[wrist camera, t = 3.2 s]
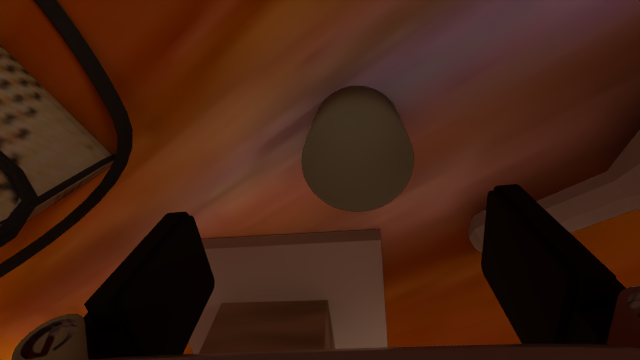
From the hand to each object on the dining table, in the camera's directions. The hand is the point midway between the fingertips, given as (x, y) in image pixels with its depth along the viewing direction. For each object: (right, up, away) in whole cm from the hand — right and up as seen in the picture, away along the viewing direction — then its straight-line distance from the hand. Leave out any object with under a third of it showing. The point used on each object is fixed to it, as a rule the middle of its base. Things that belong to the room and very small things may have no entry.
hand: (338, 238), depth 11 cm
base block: (-4, -11, +15) cm, 19 cm away
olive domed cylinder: (+1, +5, +9) cm, 10 cm away
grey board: (-3, -10, +17) cm, 20 cm away
